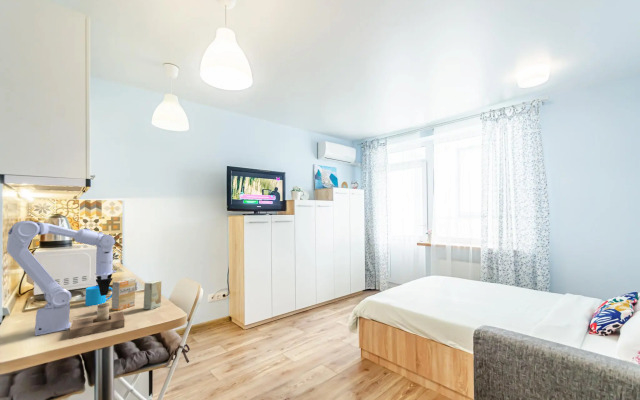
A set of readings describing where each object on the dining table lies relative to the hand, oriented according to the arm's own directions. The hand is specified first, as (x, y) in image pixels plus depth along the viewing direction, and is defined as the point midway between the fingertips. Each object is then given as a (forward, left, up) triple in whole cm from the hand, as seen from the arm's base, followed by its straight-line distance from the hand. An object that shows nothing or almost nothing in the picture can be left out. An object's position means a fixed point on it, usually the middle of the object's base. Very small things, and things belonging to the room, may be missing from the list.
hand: (104, 293), depth 120 cm
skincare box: (+19, +2, -11) cm, 22 cm away
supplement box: (+8, +11, -11) cm, 17 cm away
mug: (-1, +30, -11) cm, 32 cm away
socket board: (-1, -13, -10) cm, 17 cm away
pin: (0, -13, -10) cm, 16 cm away
